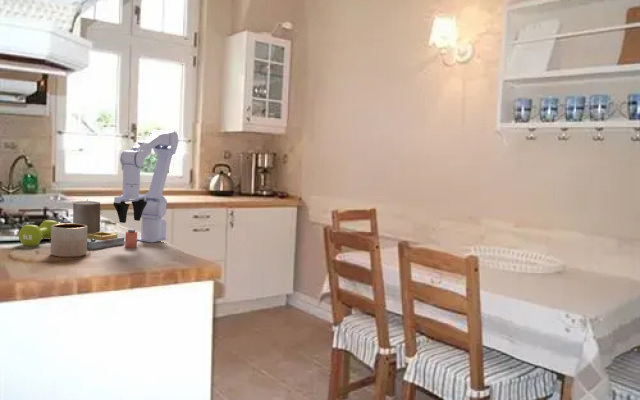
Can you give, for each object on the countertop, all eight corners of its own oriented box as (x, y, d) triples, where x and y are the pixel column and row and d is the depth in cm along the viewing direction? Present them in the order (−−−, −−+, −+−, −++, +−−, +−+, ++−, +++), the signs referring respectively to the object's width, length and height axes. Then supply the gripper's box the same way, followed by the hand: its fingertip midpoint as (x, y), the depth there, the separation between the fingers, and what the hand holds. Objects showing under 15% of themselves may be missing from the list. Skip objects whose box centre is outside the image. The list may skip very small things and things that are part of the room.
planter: (93, 253, 185) (93, 224, 184) (75, 259, 174) (76, 229, 173) (62, 250, 186) (63, 222, 185) (43, 256, 175) (43, 226, 174)
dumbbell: (42, 238, 205) (42, 219, 204) (62, 239, 204) (63, 220, 204) (15, 245, 188) (15, 225, 188) (38, 247, 188) (38, 226, 187)
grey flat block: (101, 240, 208) (102, 230, 207) (124, 244, 203) (124, 234, 203) (62, 246, 191) (62, 236, 191) (85, 250, 187) (86, 240, 187)
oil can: (130, 245, 202) (131, 228, 201) (139, 247, 200) (139, 230, 199) (122, 247, 198) (123, 229, 197) (131, 248, 196) (131, 231, 196)
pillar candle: (103, 236, 215) (104, 198, 214) (94, 240, 206) (95, 200, 204) (78, 235, 215) (78, 197, 213) (68, 239, 205) (68, 199, 204)
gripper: (135, 182, 204) (134, 218, 206) (107, 183, 191) (106, 222, 192) (151, 183, 202) (150, 220, 203) (124, 185, 188) (122, 224, 190)
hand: (129, 221), depth 198 cm, fingers open, 7 cm apart
